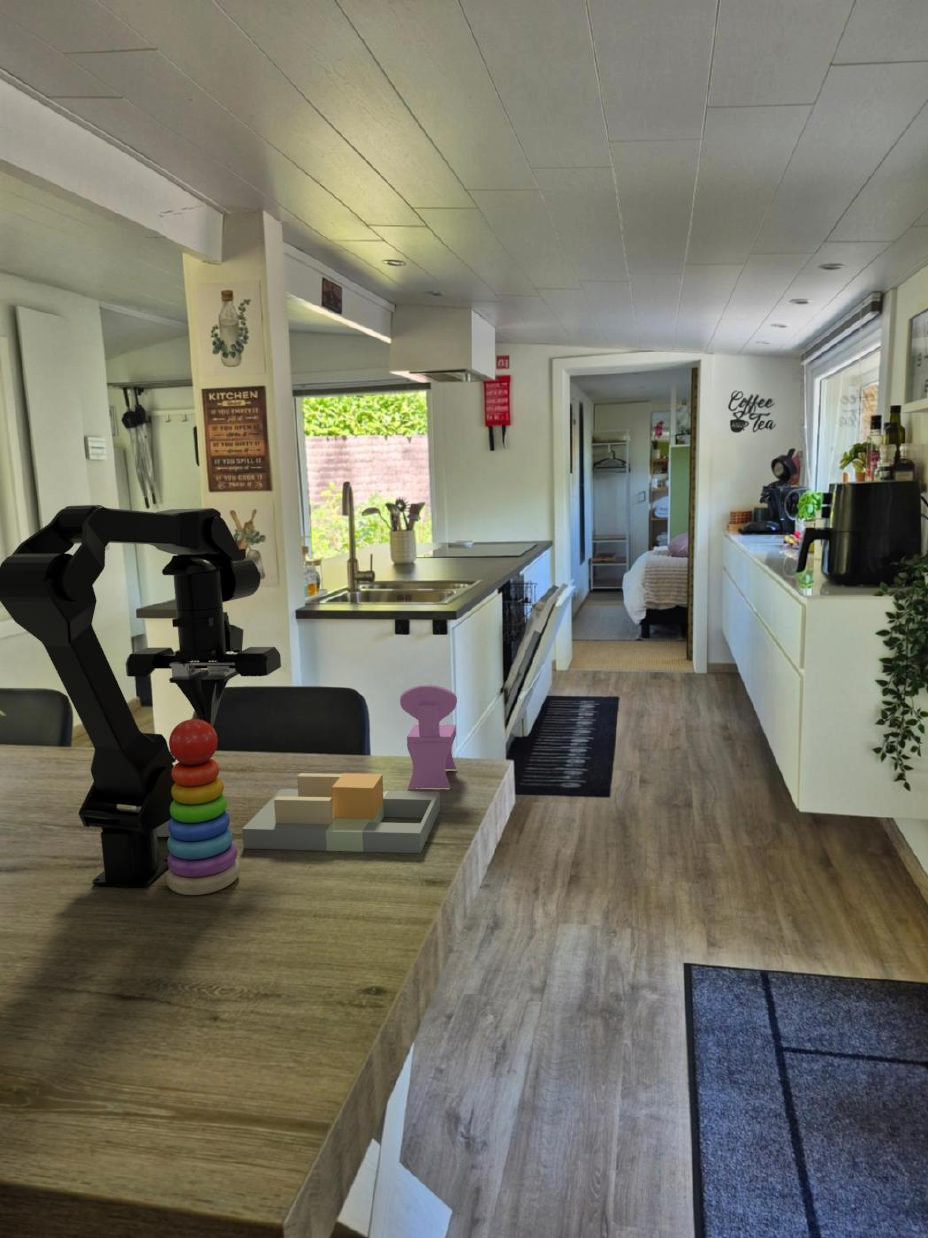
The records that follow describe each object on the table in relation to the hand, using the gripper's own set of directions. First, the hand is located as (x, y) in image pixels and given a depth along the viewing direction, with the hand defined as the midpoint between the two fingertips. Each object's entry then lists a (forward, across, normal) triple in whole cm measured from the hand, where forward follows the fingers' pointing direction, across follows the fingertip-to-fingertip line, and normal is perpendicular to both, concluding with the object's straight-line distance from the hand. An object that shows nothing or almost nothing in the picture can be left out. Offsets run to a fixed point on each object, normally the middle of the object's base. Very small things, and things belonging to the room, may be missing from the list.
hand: (209, 726), depth 112 cm
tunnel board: (+13, -18, +1) cm, 22 cm away
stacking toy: (+13, -6, +17) cm, 22 cm away
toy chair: (+13, -26, -18) cm, 34 cm away
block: (+10, -20, +1) cm, 22 cm away
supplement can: (+9, +9, -8) cm, 15 cm away
